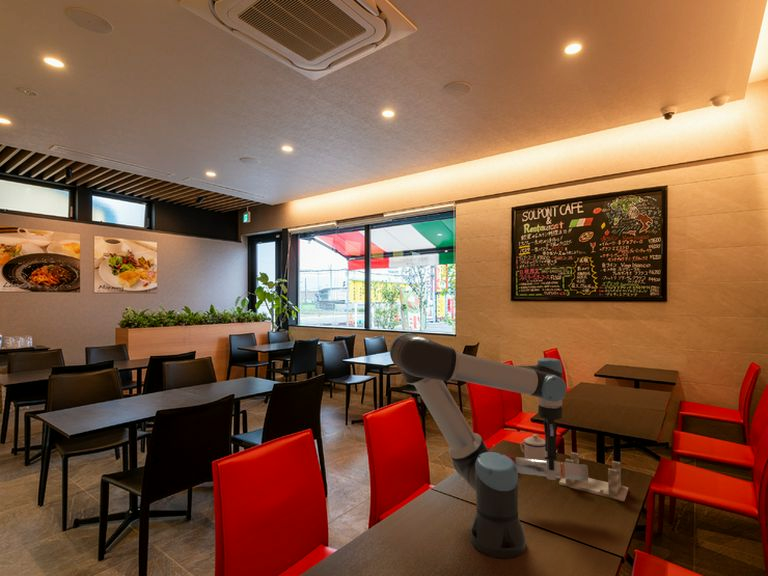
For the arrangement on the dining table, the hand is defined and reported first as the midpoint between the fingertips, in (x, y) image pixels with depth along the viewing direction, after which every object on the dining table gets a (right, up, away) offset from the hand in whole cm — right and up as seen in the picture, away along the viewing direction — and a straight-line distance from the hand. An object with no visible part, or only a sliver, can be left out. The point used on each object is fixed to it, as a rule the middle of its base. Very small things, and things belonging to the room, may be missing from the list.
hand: (550, 475), depth 135 cm
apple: (-5, -11, +28) cm, 31 cm away
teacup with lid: (+7, -11, +36) cm, 39 cm away
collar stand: (+21, -10, +13) cm, 27 cm away
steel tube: (0, 0, -1) cm, 1 cm away
